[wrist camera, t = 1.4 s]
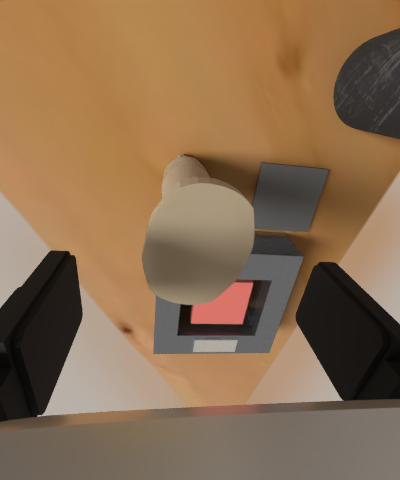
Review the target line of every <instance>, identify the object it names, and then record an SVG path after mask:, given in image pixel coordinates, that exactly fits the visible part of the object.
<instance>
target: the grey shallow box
mask: <svg viewBox="0 0 400 480" xmlns="http://www.w3.org/2000/svg"><path fill="white" fill-rule="evenodd" d="M303 258H304V256H303V255H302V254H301V252H300V251H299V250H298V249H297V248H296V246H295V245H294V244H293V243H292V242H291V240H290V239H289V238H288V237H287V236H286V235H285V233H276V232H260V231H254V244H253V248H252V250H251V253H250V256H249V258H248V260H247V262H246V264H245V266H244V268H243V270H242V272H241V274H240V275H239V277H238V279H241V280H252V281H253V286H252V290H251V294H250V298H249V301H248V305H247V309H246V313H245V316H244V320H243V324H191V318H190V314H191V307H192V305H185V304H178V303H174V302H169V301H167V300H164V299H162V298H160V297H158V296H157V295H156V310H155V332H154V354H197V353H269V352H270V349H271V346H272V344H273V341H274V338H275V335H276V333H277V330H278V327H279V324H280V321H281V319H282V316H283V313H284V310H285V308H286V305H287V302H288V299H289V297H290V294H291V291H292V288H293V286H294V283H295V280H296V277H297V275H298V272H299V269H300V266H301V264H302V261H303Z"/></svg>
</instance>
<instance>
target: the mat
mask: <svg viewBox="0 0 400 480" xmlns="http://www.w3.org/2000/svg"><path fill="white" fill-rule="evenodd" d="M328 172H329V170H328V169H322V168H313V167H303V166H293V165H283V164H273V163H263V162H262V163H261V167H260V172H259V176H258V180H257V185H256V189H255V194H254V198H253V203H252V207H253V208H254V229H268V230H284V231H300V232H308V229H309V227H310V224H311V221H312V218H313V215H314V212H315V209H316V207H317V204H318V201H319V198H320V195H321V192H322V190H323V187H324V184H325V181H326V178H327V175H328Z"/></svg>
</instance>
